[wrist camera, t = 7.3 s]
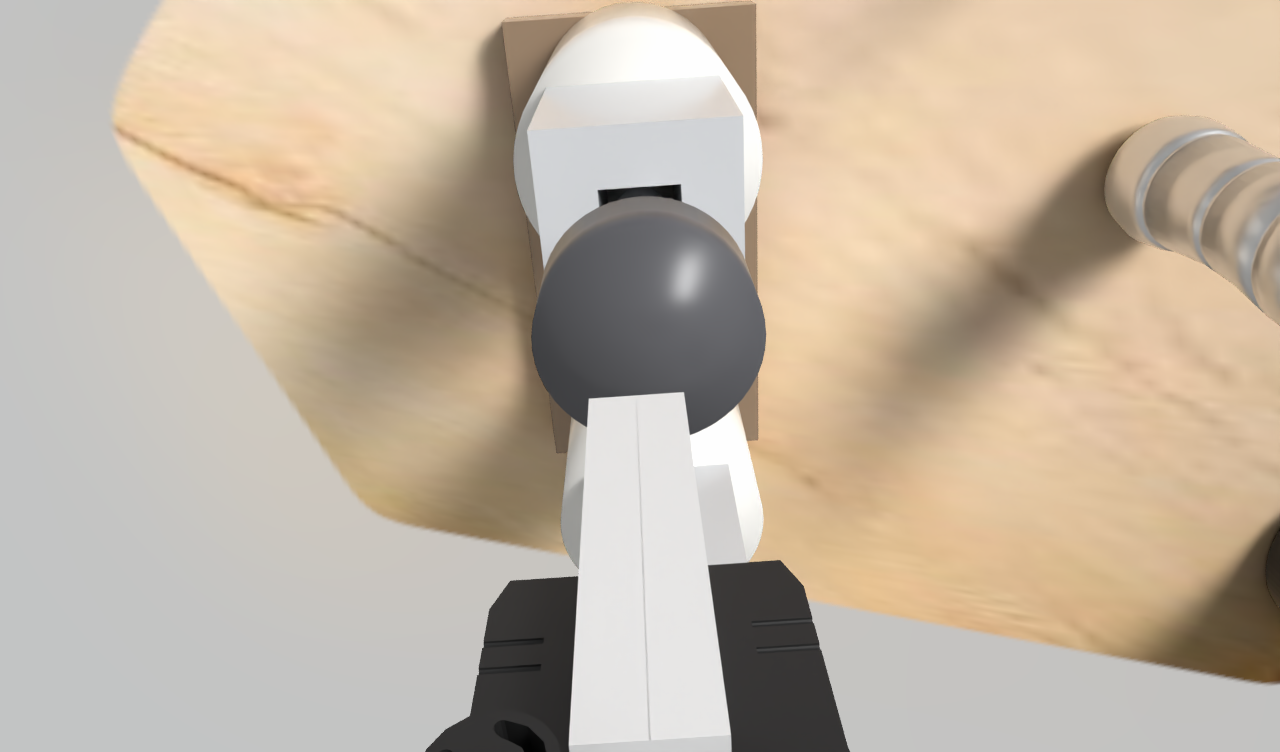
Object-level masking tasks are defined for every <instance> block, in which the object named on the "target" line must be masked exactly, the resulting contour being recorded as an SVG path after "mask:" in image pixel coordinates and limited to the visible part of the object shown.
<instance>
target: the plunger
mask: <svg viewBox="0 0 1280 752" xmlns="http://www.w3.org/2000/svg"><path fill="white" fill-rule="evenodd" d="M531 338H532V352H533V356H534V361H535V365H536V368H537V371H538V373H539V376H540V378H541V380H542V382H543V384H544V386H545V388H546V390H547V391H548V392H549V394H550V395H551V397H552V398H553V399H554V401H555V402H556V403H557V404H558V405H559V406H560V407H561V408H562V409H563V410H564V411H565V412H566V413H567V414H568V415H570V416H571V417H572V418H573V419H575V420H576V421H578V422H579V423H581V424H582V425H584V426H585V427H587V421H588V404H589V399H592V398H606V397H620V396H635V395H649V394H664V393H678V392H684V397H685V404H686V411H687V418H688V426H689V433H690V435H692V434H695V433H697V432H699V431H701V430H703V429H705V428H707V427H709V426H711V425H713V424H714V423H716V422H717V421H719V420H720V419H722V418H723V417H724V416H726V415H727V414H728V413H729V412H730V411H732V410H733V409H734V408H735V407H736V405H737V404H738V403H739V402H740V401H741V400H742V399H743V398H744V396H745V395H746V393H747V392H748V391H749V389H750V388H751V386H752V384H753V382H754V380H755V379H756V377H757V375H758V372H759V369H760V366H761V364H762V360H763V356H764V351H765V342H766V328H765V319H764V314H763V310H762V306H761V303H760V300H759V298H758V295H757V292H756V289H755V286H754V283H753V281H752V278H751V275H750V272H749V269H748V266H747V264H746V261H745V259H744V256H743V254H742V252H741V250H740V248H739V247H738V245H737V243H736V242H735V240H734V239H733V238H732V236H731V235H730V234H729V232H728V231H727V230H726V229H725V228H724V227H723V226H722V225H721V224H720V223H719V222H717V221H716V220H715V219H713V218H712V217H711V216H710V215H708V214H707V213H705V212H703V211H701V210H700V209H698V208H696V207H694V206H691V205H689V204H686V203H684V202H681V201H677V200H673V199H669V198H663V197H662V196H661V195H660V194H659V193H658V192H657V191H655V190H653V189H651V188H648V187H634V188H631V189H629V190H627V191H626V192H624V193H623V194H622V195H621V196H620V198H619V199H618V200H617V201H614V202H610V203H608V204H605V205H603V206H601V207H598V208H596V209H594V210H593V211H591V212H589V213H588V214H586V215H584V216H583V217H582V218H580V219H579V220H578V221H577V222H575V223H574V224H573V225H572V226H571V227H570V228H569V229H568V230H567V231H566V232H565V233H564V234H563V236H562V237H561V238H560V240H559V241H558V242H557V244H556V245H555V247H554V249H553V251H552V252H551V254H550V256H549V259H548V261H547V264H546V266H545V269H544V274H543V278H542V282H541V287H540V291H539V296H538V300H537V305H536V309H535V314H534V318H533V324H532V335H531Z"/></svg>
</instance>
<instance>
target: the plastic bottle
mask: <svg viewBox="0 0 1280 752" xmlns="http://www.w3.org/2000/svg"><path fill="white" fill-rule="evenodd" d="M1104 187H1105V200H1106V205H1107V208H1108V210H1109V212H1110V214H1111V216H1112V217H1113V218H1114V220H1115V221H1116V222H1117V223H1118V224H1119V225H1120V226H1121V228H1122V229H1123V230H1124V231H1125V232H1126V233H1127V234H1128V235H1129V236H1130V237H1132V238H1133V239H1135V240H1136V241H1139V242H1142V243H1144V244H1147V245H1150V246H1153V247H1156V248H1159V249H1162V250H1167V251H1173V252H1176V253H1179V254H1181V255H1183V256H1186V257H1188V258H1191V259H1193V260H1195V261H1198V262H1200V263H1202V264H1205V265H1206V266H1208V267H1209V268H1210V269H1212V270H1213V271H1215V272H1216V273H1218V274H1219V275H1221V276H1222V277H1223V278H1225V279H1226V280H1228V281H1229V282H1231V283H1232V284H1233V285H1235V286H1236V287H1237V288H1238V289H1239V290H1240V291H1241V292H1242V293H1243V294H1244V295H1245V296H1246V297H1247V298H1248V299H1249V300H1251V301H1252V302H1253V303H1254V304H1255V305H1256V306H1257V307H1258V308H1259V309H1260V310H1261V311H1262V312H1263V313H1265V314H1266V316H1267V317H1269V318H1270V319H1272V320H1273V321H1274V322H1276V323H1277V324H1278V325H1279V326H1280V158H1278V157H1276V156H1274V155H1272V154H1270V153H1268V152H1266V151H1264V150H1262V149H1260V148H1258V147H1256V146H1254V145H1252V144H1250V143H1249V142H1248V141H1246V140H1245V139H1244V138H1243V137H1242V136H1240V135H1239V134H1238V133H1236V132H1235V131H1234V130H1232V129H1231V128H1229V127H1227V126H1226V125H1224V124H1222V123H1221V122H1219V121H1216V120H1214V119H1211V118H1208V117H1201V116H1184V115H1180V116H1168V117H1164V118H1161V119H1157V120H1155V121H1153V122H1151V123H1149V124H1146V125H1145V126H1143V127H1142V128H1140V129H1139V130H1137V131H1136V132H1135V133H1133V134H1132V135H1131V136H1130V137H1129V138H1128V139H1127V140H1126V141H1125V142H1124V143H1123V145H1122V146H1121V147H1120V148H1119V150H1118V151H1117V153H1116V154H1115V156H1114V158H1113V160H1112V161H1111V163H1110V166H1109V169H1108V172H1107V174H1106V180H1105V186H1104Z"/></svg>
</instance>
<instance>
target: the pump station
mask: <svg viewBox="0 0 1280 752" xmlns="http://www.w3.org/2000/svg"><path fill="white" fill-rule="evenodd" d="M502 30H503V38H504V45H505V53H506V61H507V69H508V77H509V84H510V92H511V100H512V108H513V116H514V124H515V131H516V138H515V143H514V158H513V161H514V176H515V181H516V186H517V191H518V194H519V197H520V200H521V203H522V206H523V208H524V210H525V212H526V218H527V225H528V233H529V241H530V249H531V257H532V265H533V272H534V280H535V288H536V296H537V300H538V296H539V291H540V287H541V282H542V278H543V274H544V269H545V266H546V264H547V261H548V259H549V256H550V254H551V252H552V251H553V249H554V247H555V245H556V244H557V242H558V241H559V240H560V238H561V237H562V236H563V234H564V233H565V232H566V231H567V230H568V229H569V228H570V227H571V226H572V225H573V224H574V223H575V222H577V221H578V220H579V219H580V218H582V217H583V216H584V215H586V214H588V213H589V212H591V211H593V210H594V209H596V208H598V207H601V206H603V205H605V204H608V203H610V202H614V201H617V200H618V199H619V198H620V196H621V195H622V194H623V193H624V192H626V191H627V190H629V189H631V188H634V187H648V188H651V189H653V190H655V191H657V192H658V193H659V194H660V195H661V196H662V197H663V198H669V199H673V200H677V201H681V202H684V203H686V204H689V205H691V206H694V207H696V208H698V209H700V210H701V211H703V212H705V213H707V214H708V215H710V216H711V217H712V218H713V219H715V220H716V221H717V222H719V223H720V224H721V225H722V226H723V227H724V228H725V229H726V230H727V231H728V232H729V234H730V235H731V236H732V238H733V239H734V240H735V242H736V243H737V245H738V247H739V248H740V250H741V252H742V254H743V256H744V259H745V261H746V264H747V266H748V269H749V272H750V275H751V278H752V281H753V283H754V286H755V289H756V292H757V194H758V191H759V186H760V181H761V176H762V162H763V156H762V142H761V137H760V132H759V127H758V124H757V105H756V4H755V3H754V2H752V1H751V0H750V1H736V2H722V3H709V4H695V5H681V6H667V7H663V6H659V5H656V4H652V3H645V2H623V3H616V4H612V5H609V6H605V7H602V8H600V9H598V10H596V11H594V12H583V13H570V14H556V15H542V16H528V17H514V18H506V19H505V20H504V21H503V22H502ZM549 398H550V405H551V413H552V421H553V429H554V437H555V445H556V452H557V453H566V452H568V454H567V464H566V473H565V483H564V493H563V502H562V512H561V533H562V538H563V542H564V545H565V547H566V550H567V552H568V554H569V556H570V558H571V560H572V561H573V563H574V564H575V565H576V566H577V568H578V569H579V559H580V541H581V524H582V507H583V490H584V473H585V455H586V438H587V427H585V426H584V425H582V424H581V423H579V422H578V421H576V420H575V419H573V418H572V417H571V416H570V415H568V414H567V413H566V412H565V411H564V410H563V409H562V408H561V407H560V406H559V405H558V404H557V403H556V402H555V401H554V399H553V398H552V397H551V395H550V394H549ZM690 440H691V447H692V455H693V462H694V469H695V477H696V484H697V491H698V498H699V506H700V513H701V520H702V527H703V535H704V542H705V549H706V556H707V564H708V565H717V564H732V563H747V562H749V561H750V559H751V558H752V556H753V554H754V553H755V551H756V549H757V546H758V544H759V541H760V538H761V534H762V530H763V508H762V503H761V499H760V495H759V491H758V486H757V482H756V478H755V474H754V469H753V465H752V461H751V457H750V452H749V448H748V444H747V441H752V440H758V375H757V377H756V379H755V380H754V382H753V384H752V386H751V388H750V389H749V391H748V392H747V393H746V395H745V396H744V398H743V399H742V400H741V401H740V402H739V403H738V404H737V405H736V407H735V408H734V409H733V410H732V411H730V412H729V413H728V414H727V415H726V416H724V417H723V418H722V419H720V420H719V421H717V422H716V423H714V424H713V425H711V426H709V427H707V428H705V429H703V430H701V431H699V432H697V433H695V434H692V435H690Z"/></svg>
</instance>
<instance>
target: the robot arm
mask: <svg viewBox="0 0 1280 752" xmlns="http://www.w3.org/2000/svg"><path fill="white" fill-rule="evenodd" d="M1266 581H1267V586H1268V589H1269V592H1270V595H1271V597H1272V598H1273V600H1274V602H1275V603H1276V604H1277V606H1278V607H1279V608H1280V530H1279V532H1278V533H1277V535H1276V537H1275V539H1274V541H1273V543H1272V546H1271V548H1270V551H1269V554H1268V559H1267V564H1266ZM425 752H850V751H849V749H848V746H847V742H846V739H845V735H844V731H843V728H842V724H841V720H840V717H839V713H838V710H837V706H836V702H835V699H834V695H833V691H832V688H831V684H830V681H829V677H828V673H827V670H826V666H825V662H824V659H823V655H822V651H821V650H820V647H819V640H818V637H817V633H816V629H815V626H814V623H813V622H812V615H811V612H810V608H809V604H808V600H807V597H806V593H805V589H804V586H803V585H802V584H801V583H800V582H799V580H798V579H797V578H796V577H795V576H794V575H793V574H792V573H791V572H790V571H789V569H788V568H787V567H786V566H785V565H784V564H783V563H782V562H781V561H780V560H777V561H762V562H747V563H732V564H717V565H708V564H707V556H706V549H705V542H704V535H703V527H702V520H701V513H700V506H699V498H698V491H697V484H696V477H695V469H694V462H693V455H692V447H691V440H690V433H689V426H688V418H687V411H686V404H685V397H684V392H678V393H664V394H649V395H635V396H620V397H606V398H592V399H589V404H588V421H587V438H586V455H585V473H584V490H583V507H582V524H581V541H580V559H579V576H576V577H562V578H547V579H531V580H516V581H510V582H509V583H508V585H507V586H506V588H505V589H504V590H503V592H502V593H501V594H500V596H499V598H497V600H496V601H495V603H494V604H493V605H492V607H491V608H490V610H489V615H488V620H487V626H486V631H485V637H484V648H482V653H481V659H480V664H479V675H477V681H476V686H475V692H474V697H473V703H472V709H471V714H470V716H469V717H467V718H466V719H464V720H462V721H460V722H458V723H457V724H455V725H453V726H451V727H449V728H448V729H446V730H445V731H444V732H443V733H442V734H441V735H440V736H439V737H438V738H437V739H436V740H435V741H434V742H433V743H432V744H431V745H430V746H429V747H428V748H427V749H426V751H425Z"/></svg>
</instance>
